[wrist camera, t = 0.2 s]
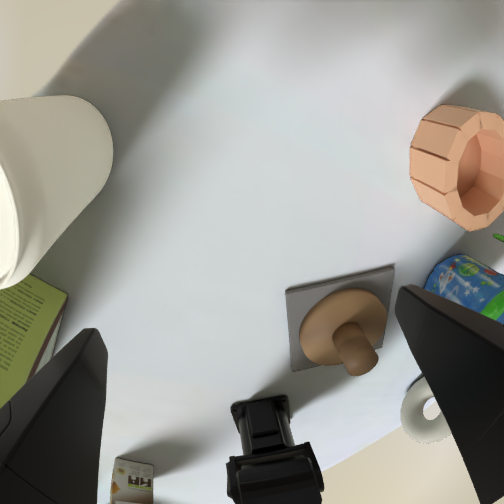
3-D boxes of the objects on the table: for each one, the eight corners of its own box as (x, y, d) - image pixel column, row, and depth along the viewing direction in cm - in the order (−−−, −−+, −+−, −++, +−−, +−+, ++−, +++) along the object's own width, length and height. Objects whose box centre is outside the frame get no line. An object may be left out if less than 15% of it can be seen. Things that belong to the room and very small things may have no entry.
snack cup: (455, 199, 24) (534, 250, 15) (500, 234, 27) (561, 280, 19) (376, 333, 30) (421, 406, 21) (433, 342, 33) (475, 400, 25)
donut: (397, 406, 40) (424, 457, 31) (385, 403, 38) (413, 458, 30) (446, 361, 36) (481, 410, 28) (436, 356, 35) (473, 409, 26)
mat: (379, 344, 31) (381, 347, 31) (291, 368, 31) (292, 372, 30) (391, 266, 27) (394, 269, 26) (285, 290, 26) (286, 294, 25)
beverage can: (123, 96, 17) (32, 102, 7) (111, 212, 21) (44, 321, 10) (22, 96, 15) (-101, 120, 5) (19, 202, 19) (-78, 288, 8)
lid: (376, 344, 30) (397, 379, 26) (300, 365, 30) (314, 405, 25) (385, 278, 26) (415, 313, 22) (296, 299, 26) (315, 342, 21)
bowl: (478, 203, 25) (509, 221, 21) (407, 216, 24) (438, 238, 20) (484, 108, 20) (520, 117, 16) (408, 102, 20) (446, 108, 16)
